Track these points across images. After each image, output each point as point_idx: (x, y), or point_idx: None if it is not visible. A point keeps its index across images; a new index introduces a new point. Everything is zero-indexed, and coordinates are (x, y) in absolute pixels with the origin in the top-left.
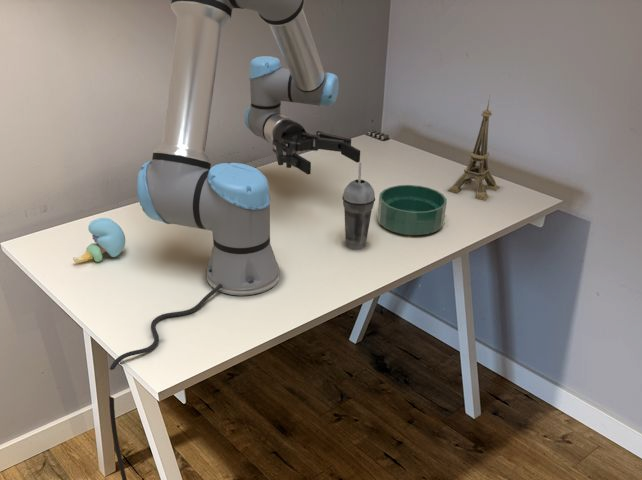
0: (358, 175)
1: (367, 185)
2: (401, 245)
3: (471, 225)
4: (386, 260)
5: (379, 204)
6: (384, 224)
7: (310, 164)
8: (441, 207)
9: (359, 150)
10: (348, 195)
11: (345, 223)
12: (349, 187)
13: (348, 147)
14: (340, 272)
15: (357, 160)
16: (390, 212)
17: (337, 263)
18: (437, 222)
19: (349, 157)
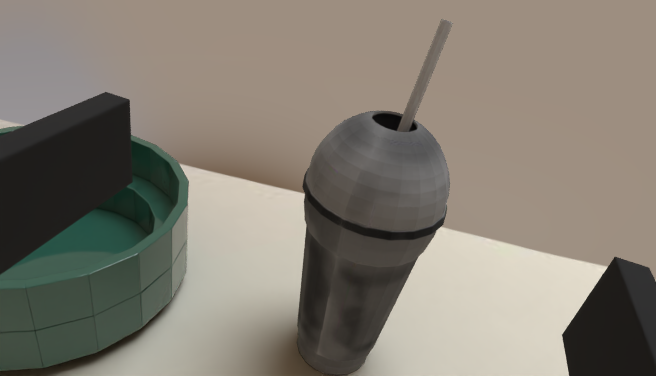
0: (424, 89)
1: (383, 113)
2: (241, 246)
3: None
4: None
5: (109, 286)
6: (167, 295)
7: (606, 274)
8: None
9: (102, 96)
10: (449, 181)
11: (393, 303)
12: (440, 159)
13: (18, 162)
14: (493, 309)
15: (129, 167)
16: (178, 233)
17: (469, 336)
18: None
19: (54, 228)
